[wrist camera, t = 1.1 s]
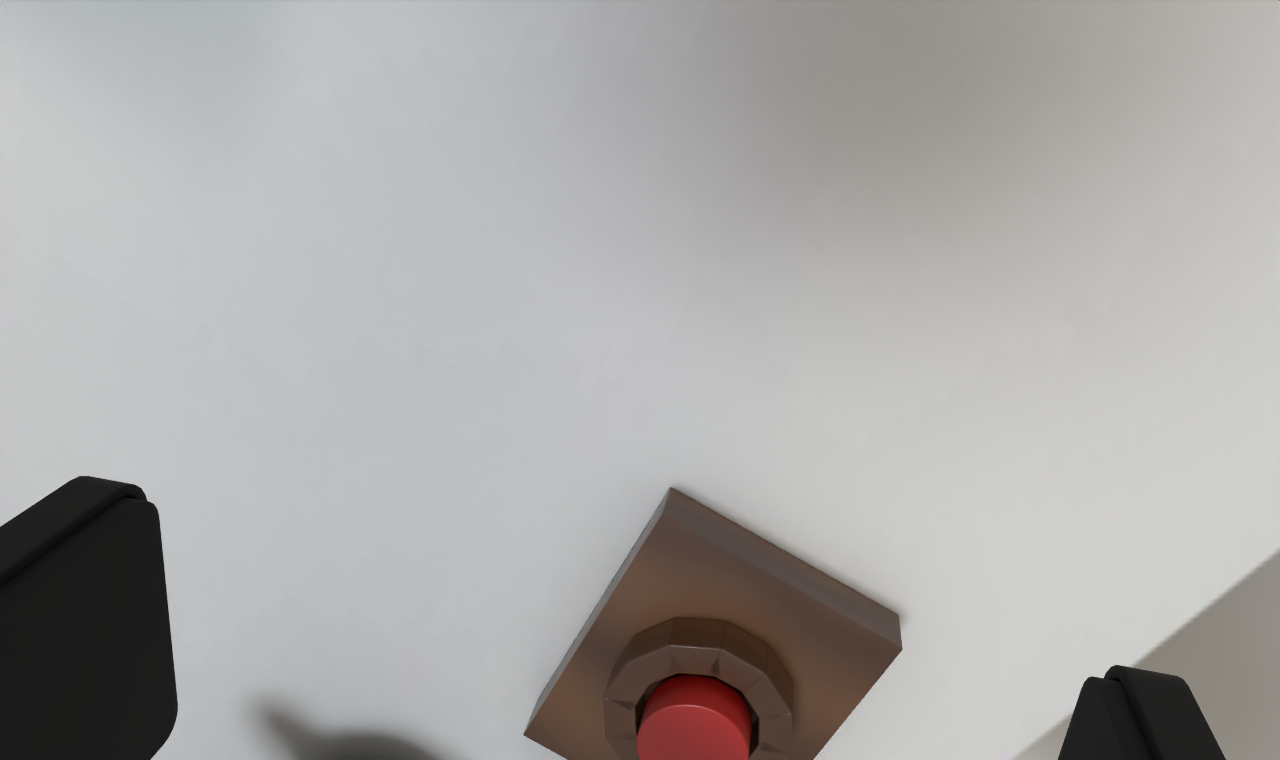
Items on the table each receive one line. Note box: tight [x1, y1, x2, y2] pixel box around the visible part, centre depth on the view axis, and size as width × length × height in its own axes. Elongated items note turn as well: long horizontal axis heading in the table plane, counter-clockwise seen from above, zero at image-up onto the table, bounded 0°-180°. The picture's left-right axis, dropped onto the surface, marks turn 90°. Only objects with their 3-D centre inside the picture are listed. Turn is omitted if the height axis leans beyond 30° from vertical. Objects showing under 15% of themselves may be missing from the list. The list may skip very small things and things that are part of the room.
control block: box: [524, 488, 902, 760], centre depth 39 cm, size 12×10×4 cm
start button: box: [637, 674, 752, 760], centre depth 36 cm, size 4×4×2 cm
